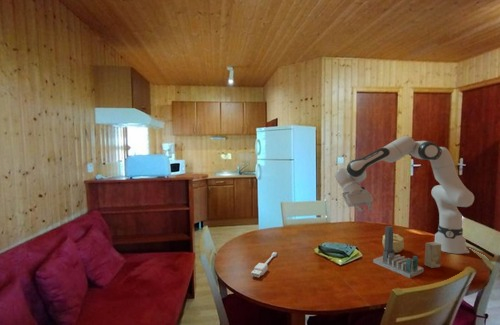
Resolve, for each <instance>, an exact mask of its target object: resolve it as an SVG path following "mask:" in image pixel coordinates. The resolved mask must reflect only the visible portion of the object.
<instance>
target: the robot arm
mask: <svg viewBox="0 0 500 325" xmlns="http://www.w3.org/2000/svg"><path fill="white" fill-rule="evenodd" d="M407 155H409V156H411V157H412V158H415V159H418V160H426V161H429V162H430V165H431V166H430V167H431V169H432V172H433V176H434V179H435V180H436V182H438V183H439V184H438V185H434V186H433V187H432V189H431V193H430V194H431V196H432V198H433V199H434V201H435V203H436V205H437V209H438V214H439V216H438V218H439V220H438V222H439V223H438V227H437V232H436V233H434V242H436V243H439V244H441V252H444V253H449V254H455V255H456V254H457V255H461V254H470V250H469V249H468V247H467V244H466V243H467V242H466V241H467V240H466V238H465V237H464V236H463V234H464V230H463V214H462V213H461V212H460V210H459V209H458V207H461V208H468V207H471V206H472V205H473V203H474V201H475V195H474V194H473V192H472V191H470V189H468V188H467V187H466V186H465V185H464V183H463V182H462V180H461V179H460V177H459V175H458V173H457V169H456V165H455V163H454V162H455V161H454V159H453V157H452V155H451V152H450V151H449V149H448V148H446V147H445V146H439V145H438V144H436V143H435V142H433V141H429V140H415V139H413V138H412V137H410V136H408V135H404V136H402V137H399V138H397V139H395V140H393V141H392V142H390V143H388V144H386V145H385V146H383V147H381V148H378V149H376V150H374V151H372V152H371V153H368V154H367V155H365V156H362V157H360V158H357V159H353V160H351V161H349V162H348V164H346V168H345V167H341V168H340V169H337V171H336V172H335V176H334V177H335V180H336V182H337V183H338V184H339V186H340V188H342V190H343V192H342V195H341V196H342V198H343V201H344V202H345V204H346V206H347V207H349V208H351V207H354V208H355V209H356V210H358V212H360V213H361V212H363V211H364V209H363V208H362V207H361V206H363V205H366V206H367V209H368V210H369V211H371V210H373V206H372V204H371V203H373V201H374V198H373V195H371V193H370V192H369V191H368V190H367V187H365V186H362V185H359V184H360V183H362V182H365V181H366V179H367V177H368V173H367V171H366V170H367V169H368V168H369V167H370V166H372V165H374V164H376V163H378V162H380V161H381V162H382V161H384V162H386V163H389V164H390V163H391V164H392V163H395V162H398V161H400V159H402V158H404V157H405V156H407Z"/></svg>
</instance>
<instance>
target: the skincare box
mask: <svg viewBox="0 0 500 325" xmlns="http://www.w3.org/2000/svg"><path fill="white" fill-rule="evenodd" d="M441 260H442V251H441V244H439V243H436V242H435V241H432V242H431V241H430V242H425V249H424V265H425V266H427V267H429V268H431V269H434V268H440V267H441Z"/></svg>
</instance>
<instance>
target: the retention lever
mask: <svg viewBox="0 0 500 325" xmlns="http://www.w3.org/2000/svg"><path fill="white" fill-rule="evenodd" d="M393 233H394V226H393V225H387V226H384V235H385V248H384V250H385V251H387V252H388V255H389V254H391V253H393Z"/></svg>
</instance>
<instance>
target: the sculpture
mask: <svg viewBox="0 0 500 325" xmlns="http://www.w3.org/2000/svg"><path fill="white" fill-rule="evenodd" d="M382 246H383V249H385V234H384V235H382ZM404 246H405V243H404V238H403V237H402V236H401V235H399V233H397V234H396V233H394V232H393V249H394V250H395V253H400V252H402V251H403V250H404Z"/></svg>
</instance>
